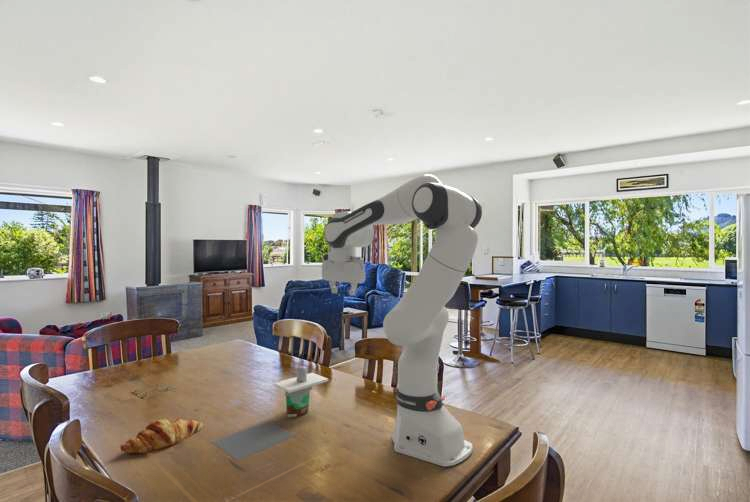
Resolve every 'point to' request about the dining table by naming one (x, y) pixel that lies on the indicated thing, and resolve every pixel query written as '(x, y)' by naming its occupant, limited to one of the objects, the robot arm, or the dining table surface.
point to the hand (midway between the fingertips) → (343, 294)
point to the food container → (297, 402)
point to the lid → (300, 380)
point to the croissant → (161, 435)
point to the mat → (252, 440)
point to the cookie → (155, 392)
